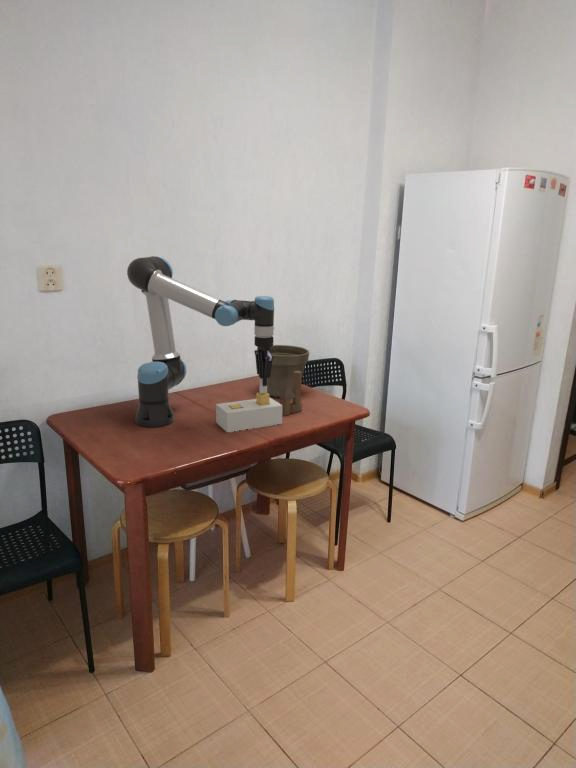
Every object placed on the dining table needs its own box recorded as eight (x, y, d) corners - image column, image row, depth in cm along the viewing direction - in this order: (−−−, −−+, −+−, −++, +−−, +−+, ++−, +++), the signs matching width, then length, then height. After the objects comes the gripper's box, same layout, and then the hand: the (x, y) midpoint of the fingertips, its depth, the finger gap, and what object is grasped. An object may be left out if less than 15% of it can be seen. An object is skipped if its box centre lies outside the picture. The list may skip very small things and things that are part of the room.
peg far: (260, 412, 218) (260, 395, 216) (256, 409, 221) (256, 392, 219) (269, 411, 220) (269, 394, 218) (264, 408, 223) (265, 391, 221)
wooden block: (278, 414, 231) (279, 373, 226) (296, 409, 238) (297, 369, 233) (284, 416, 228) (285, 375, 223) (302, 411, 236) (303, 371, 231)
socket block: (227, 432, 208) (227, 413, 206) (216, 422, 218) (216, 404, 216) (281, 423, 219) (282, 405, 217) (268, 414, 230) (269, 397, 227)
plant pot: (288, 383, 277) (289, 342, 271) (317, 396, 257) (319, 352, 251) (246, 390, 263) (247, 347, 257) (273, 404, 244) (275, 357, 238)
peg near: (232, 426, 213) (233, 408, 211) (229, 422, 217) (229, 405, 215) (242, 424, 215) (242, 407, 213) (238, 421, 219) (238, 404, 216)
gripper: (280, 338, 208) (278, 396, 214) (265, 332, 219) (264, 387, 225) (262, 339, 204) (261, 398, 211) (248, 333, 215) (248, 389, 222)
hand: (263, 392), depth 218 cm, fingers closed
